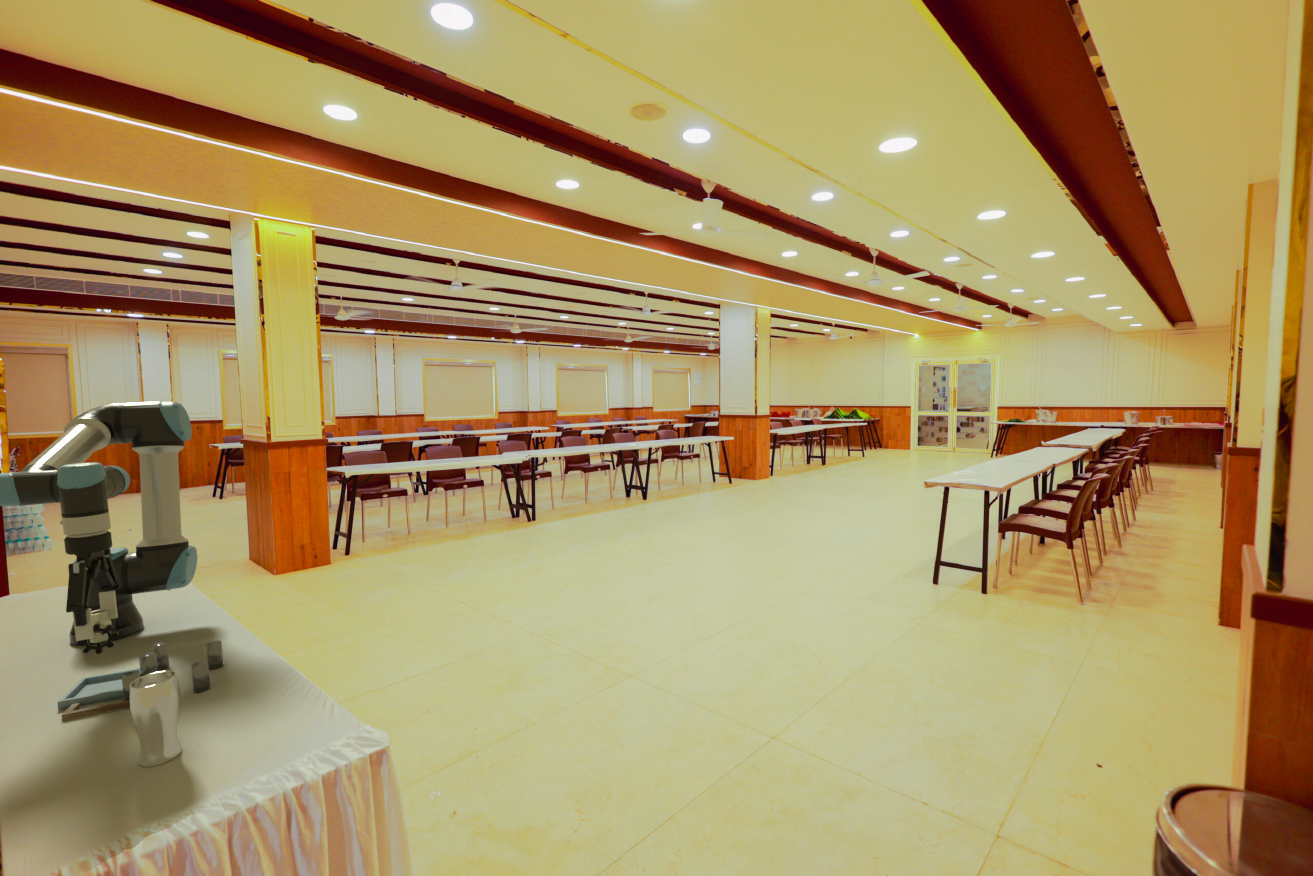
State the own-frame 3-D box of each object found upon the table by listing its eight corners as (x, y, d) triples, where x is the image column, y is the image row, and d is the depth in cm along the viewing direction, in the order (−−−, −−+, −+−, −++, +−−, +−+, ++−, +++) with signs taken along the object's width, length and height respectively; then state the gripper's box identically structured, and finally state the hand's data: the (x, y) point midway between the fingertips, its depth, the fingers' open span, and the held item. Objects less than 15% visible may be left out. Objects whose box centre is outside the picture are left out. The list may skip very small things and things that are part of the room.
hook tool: (72, 709, 127) (72, 704, 127) (155, 694, 133) (154, 689, 132) (62, 720, 123) (61, 715, 123) (147, 704, 128) (147, 699, 128)
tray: (83, 685, 137) (82, 677, 137) (146, 674, 142) (146, 667, 142) (58, 710, 127) (57, 702, 127) (127, 697, 132) (126, 689, 131)
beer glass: (155, 746, 113) (147, 671, 112) (193, 744, 114) (186, 668, 112) (125, 770, 106) (117, 690, 105) (167, 767, 107) (159, 687, 105)
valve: (81, 641, 136) (78, 658, 127) (78, 613, 136) (74, 628, 127) (119, 632, 140) (119, 649, 132) (117, 605, 140) (116, 620, 131)
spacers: (153, 667, 146) (150, 643, 145) (229, 654, 152) (227, 631, 151) (120, 707, 127) (117, 680, 127) (208, 690, 134) (205, 665, 133)
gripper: (90, 524, 140) (99, 613, 142) (35, 548, 119) (47, 653, 121) (130, 520, 144) (139, 607, 145) (84, 544, 122) (95, 646, 124)
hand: (97, 628), depth 133 cm, fingers closed on valve, 12 cm apart
